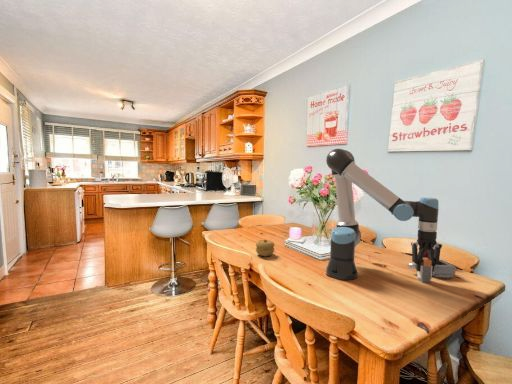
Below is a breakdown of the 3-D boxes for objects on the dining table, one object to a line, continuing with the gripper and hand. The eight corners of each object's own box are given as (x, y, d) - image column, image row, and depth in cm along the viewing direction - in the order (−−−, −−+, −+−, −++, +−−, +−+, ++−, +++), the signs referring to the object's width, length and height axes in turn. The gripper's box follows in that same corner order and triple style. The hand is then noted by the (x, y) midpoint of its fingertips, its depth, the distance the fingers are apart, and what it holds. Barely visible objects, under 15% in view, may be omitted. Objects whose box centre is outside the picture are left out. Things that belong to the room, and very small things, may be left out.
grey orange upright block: (422, 282, 122) (423, 260, 121) (418, 279, 125) (419, 257, 124) (430, 282, 121) (431, 260, 121) (425, 279, 125) (427, 257, 124)
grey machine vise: (415, 278, 127) (415, 266, 126) (402, 269, 138) (403, 258, 138) (458, 279, 125) (459, 267, 125) (442, 270, 137) (442, 259, 137)
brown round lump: (273, 252, 166) (273, 237, 165) (275, 258, 154) (275, 242, 153) (255, 252, 166) (255, 237, 165) (255, 258, 154) (256, 241, 153)
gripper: (413, 231, 118) (410, 280, 120) (451, 232, 117) (447, 281, 119) (405, 228, 126) (402, 274, 127) (440, 228, 125) (437, 275, 126)
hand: (424, 277), depth 123 cm, fingers closed on grey orange upright block, 4 cm apart
